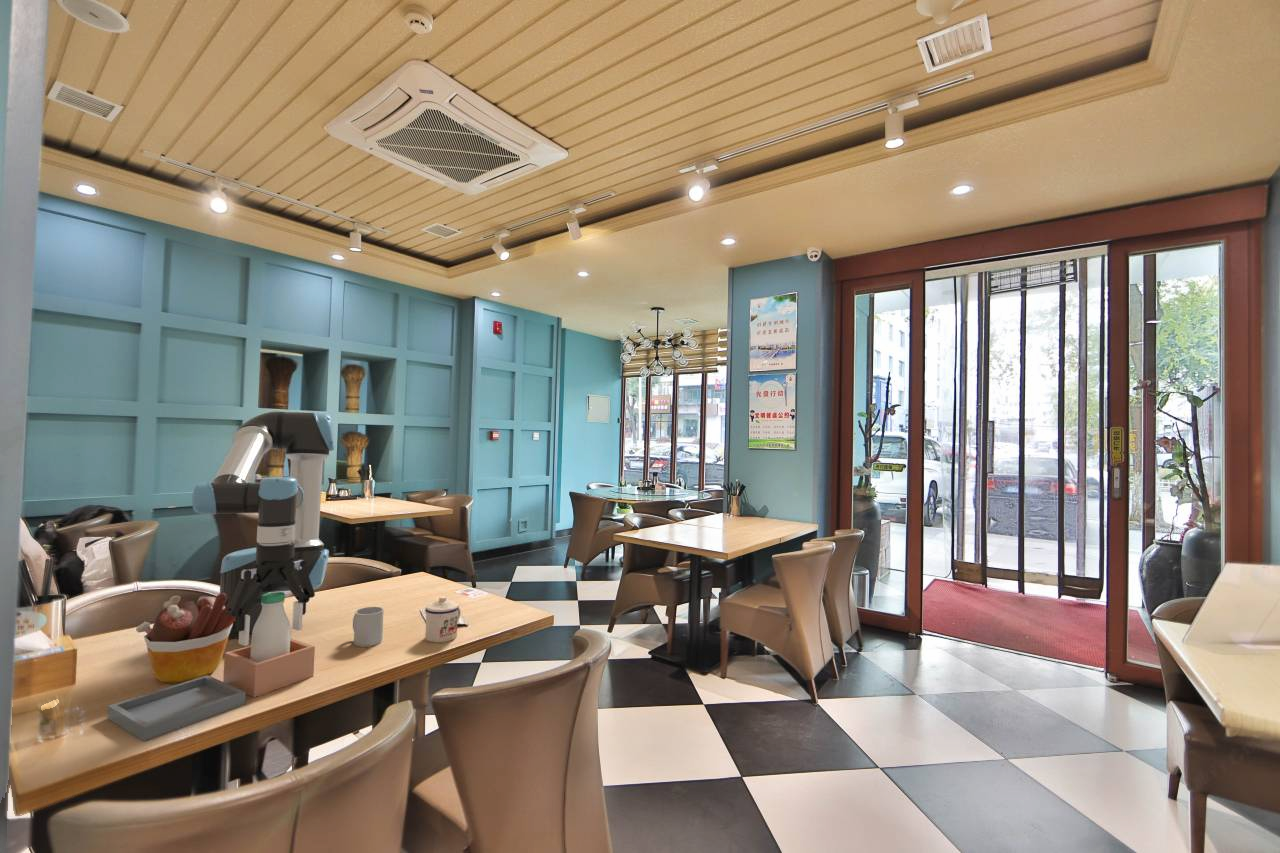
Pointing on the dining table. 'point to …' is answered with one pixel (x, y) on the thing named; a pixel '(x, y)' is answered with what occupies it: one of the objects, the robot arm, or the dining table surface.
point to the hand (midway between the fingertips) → (271, 636)
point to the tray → (175, 706)
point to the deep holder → (268, 669)
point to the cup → (368, 626)
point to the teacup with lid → (442, 620)
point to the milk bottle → (271, 629)
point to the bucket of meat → (188, 638)
